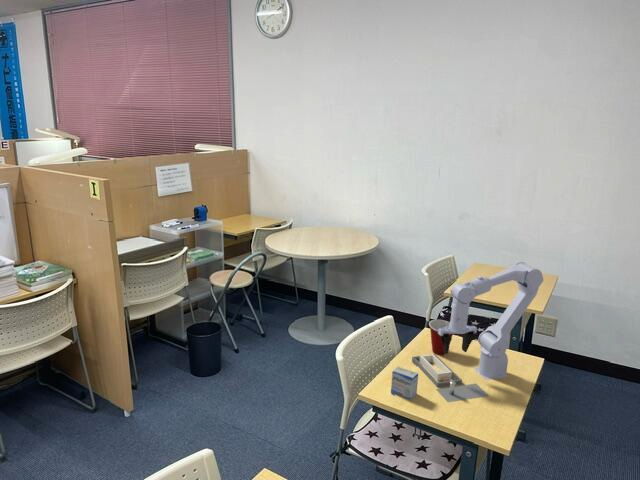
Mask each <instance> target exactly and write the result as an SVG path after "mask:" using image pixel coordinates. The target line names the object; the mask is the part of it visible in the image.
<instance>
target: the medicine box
mask: <svg viewBox="0 0 640 480" xmlns="http://www.w3.org/2000/svg"><path fill="white" fill-rule="evenodd" d="M391 372H392V374H391V375H392V376H391V385H390V394H391V395H397V396H400V397H403V398H406V399H408V400H413V399H414V398H415V397H416V395H417V394H418V393H417V392H418V384H419V382H418V381H419V373H418V372H415V371H412V370H409V369H406V368H403V367H400V366H396V367H395V368H394V369H393V370H392V371H391Z"/></svg>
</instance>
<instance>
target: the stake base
mask: <svg viewBox="0 0 640 480" xmlns="http://www.w3.org/2000/svg"><path fill="white" fill-rule="evenodd" d="M453 380H454V379H452V378H451V379H450V385H449V386H447V387H443V388H436V389H435V390H436V391H437V392H438V394H439V395H440V396H441V397H442V398H443V399H444V400H445V401H446V402H447V403H452V402H458V401H463V400H472V399H477V398H479V399H480V398H484V397H490V395H489V394H488V393H487V392H486V391H485V390H484V389H483V388H482V387H480V385H479V384H478V383H470V384H461V385H457V384H456V383H455V382H454V381H453ZM455 384H456V385H457V386H456V385H455Z"/></svg>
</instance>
